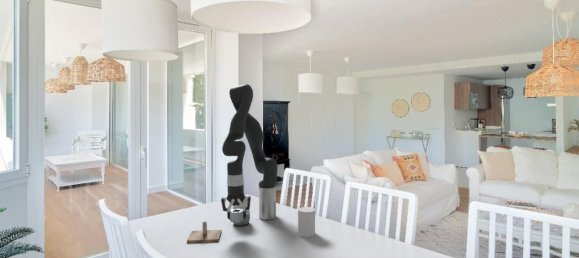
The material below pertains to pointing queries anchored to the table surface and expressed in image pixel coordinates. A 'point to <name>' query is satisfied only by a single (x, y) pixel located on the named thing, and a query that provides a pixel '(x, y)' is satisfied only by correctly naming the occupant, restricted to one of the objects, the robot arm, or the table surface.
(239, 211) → the ring
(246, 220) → the smart speaker
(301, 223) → the cup
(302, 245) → the table surface
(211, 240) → the post stand
